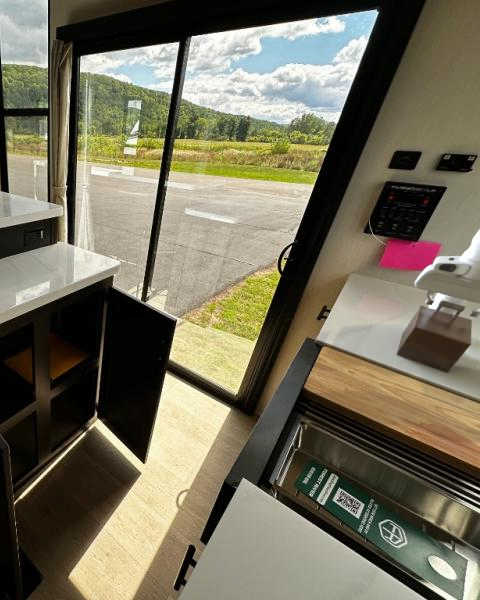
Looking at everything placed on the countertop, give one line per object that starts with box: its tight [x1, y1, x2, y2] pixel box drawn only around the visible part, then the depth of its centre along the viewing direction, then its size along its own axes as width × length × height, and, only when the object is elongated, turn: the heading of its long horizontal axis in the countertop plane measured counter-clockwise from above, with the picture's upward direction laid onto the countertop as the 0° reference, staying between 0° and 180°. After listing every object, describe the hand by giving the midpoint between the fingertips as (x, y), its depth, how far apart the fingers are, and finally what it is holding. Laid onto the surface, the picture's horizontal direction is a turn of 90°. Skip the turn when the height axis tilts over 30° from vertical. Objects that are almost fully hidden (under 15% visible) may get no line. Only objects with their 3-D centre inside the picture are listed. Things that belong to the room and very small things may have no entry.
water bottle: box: [427, 293, 467, 315], centre depth 101 cm, size 9×6×25 cm
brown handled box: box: [414, 300, 473, 347], centre depth 92 cm, size 16×11×5 cm
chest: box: [396, 308, 470, 374], centre depth 96 cm, size 15×11×10 cm
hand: (450, 309), depth 95 cm, fingers open, 8 cm apart
